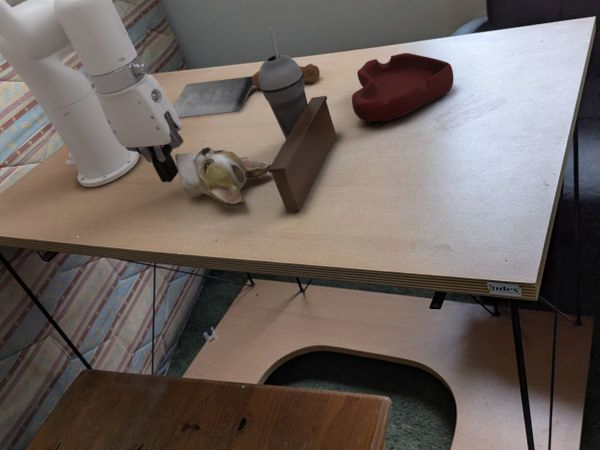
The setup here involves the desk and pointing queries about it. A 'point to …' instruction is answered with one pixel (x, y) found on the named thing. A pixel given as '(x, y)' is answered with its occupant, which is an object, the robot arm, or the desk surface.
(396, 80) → the ashtray
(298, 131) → the backboard
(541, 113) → the desk surface
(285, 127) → the beverage cup
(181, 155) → the ceramic sculpture
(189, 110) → the meat cleaver
